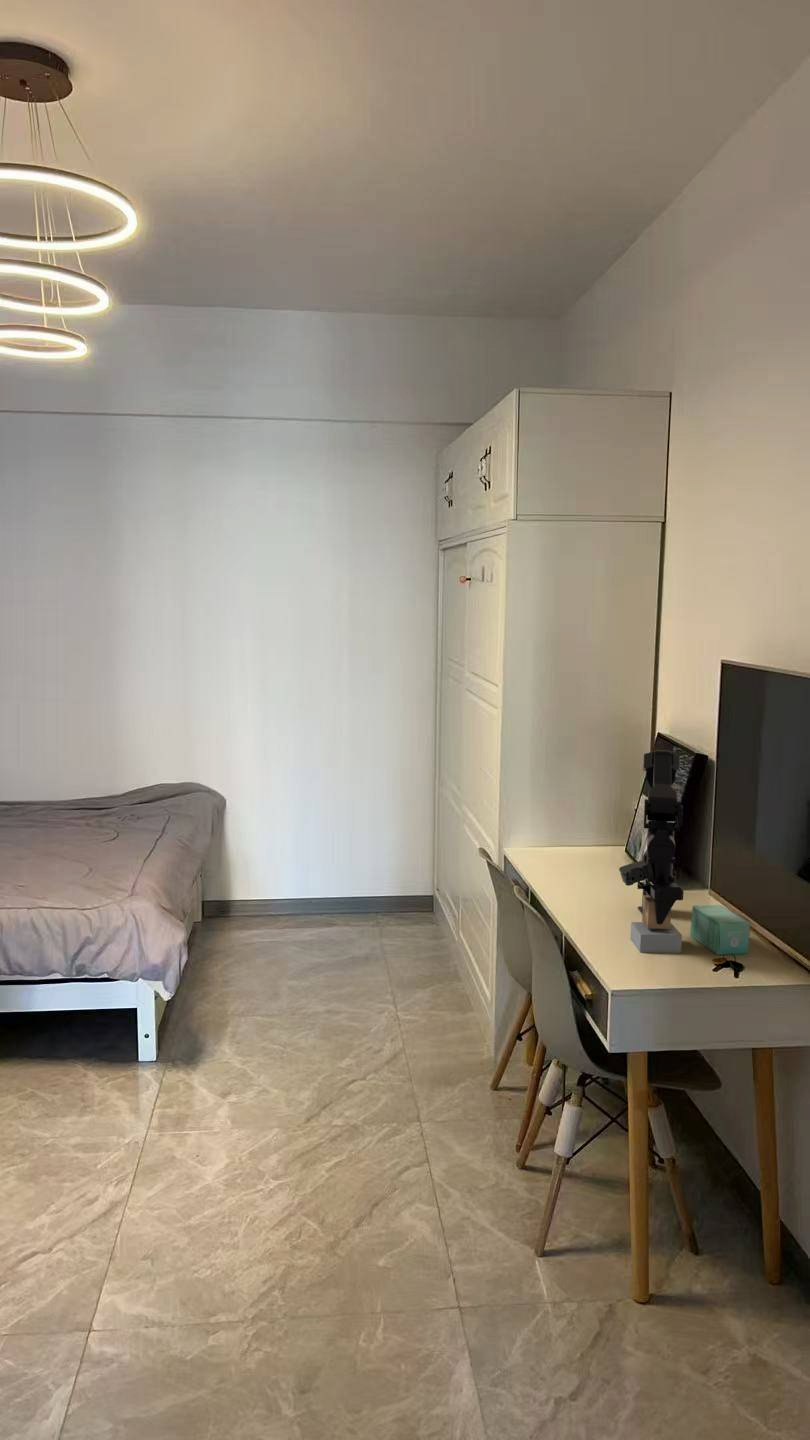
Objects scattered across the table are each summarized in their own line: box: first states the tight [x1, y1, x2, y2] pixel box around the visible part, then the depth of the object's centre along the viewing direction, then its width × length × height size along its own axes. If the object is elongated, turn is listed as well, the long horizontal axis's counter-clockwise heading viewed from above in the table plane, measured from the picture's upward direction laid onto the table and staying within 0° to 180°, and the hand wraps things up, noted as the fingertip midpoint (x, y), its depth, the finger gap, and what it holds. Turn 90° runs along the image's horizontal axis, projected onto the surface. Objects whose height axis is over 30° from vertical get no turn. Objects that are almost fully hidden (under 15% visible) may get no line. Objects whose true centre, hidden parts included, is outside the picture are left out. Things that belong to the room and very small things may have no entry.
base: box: [629, 921, 683, 954], centre depth 240 cm, size 9×9×4 cm
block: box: [641, 894, 672, 929], centre depth 239 cm, size 5×5×6 cm
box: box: [690, 904, 751, 956], centre depth 241 cm, size 7×14×8 cm, turn 12°
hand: (656, 920), depth 240 cm, fingers closed on block, 5 cm apart
